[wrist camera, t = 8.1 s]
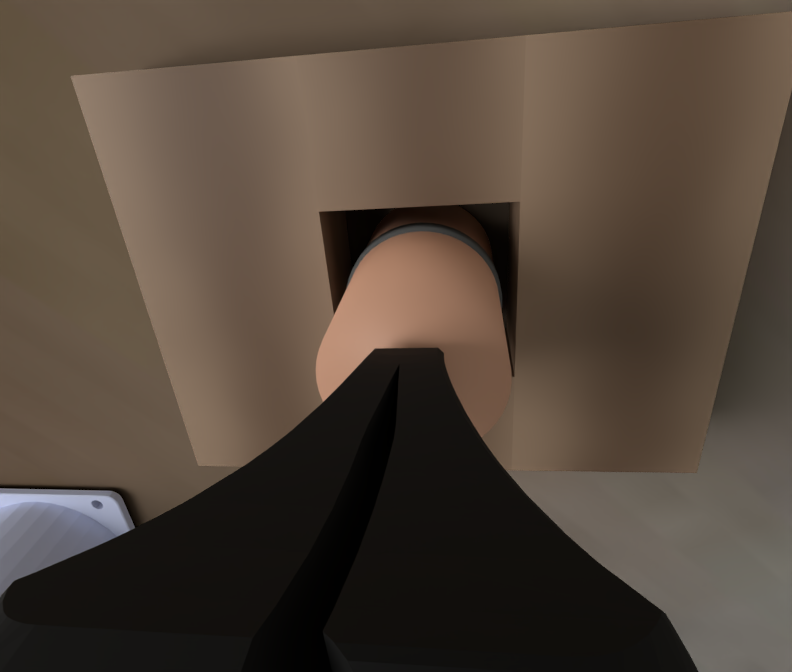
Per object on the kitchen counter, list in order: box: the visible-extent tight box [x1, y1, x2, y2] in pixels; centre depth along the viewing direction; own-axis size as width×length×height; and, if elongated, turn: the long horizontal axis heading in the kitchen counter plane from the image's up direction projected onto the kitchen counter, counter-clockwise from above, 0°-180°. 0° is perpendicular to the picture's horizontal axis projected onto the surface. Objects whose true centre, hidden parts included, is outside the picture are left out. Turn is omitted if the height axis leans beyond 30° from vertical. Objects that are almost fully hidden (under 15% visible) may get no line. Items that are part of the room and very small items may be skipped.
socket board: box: [71, 11, 792, 473], centre depth 16 cm, size 16×12×3 cm
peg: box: [316, 205, 512, 437], centre depth 14 cm, size 4×4×7 cm
